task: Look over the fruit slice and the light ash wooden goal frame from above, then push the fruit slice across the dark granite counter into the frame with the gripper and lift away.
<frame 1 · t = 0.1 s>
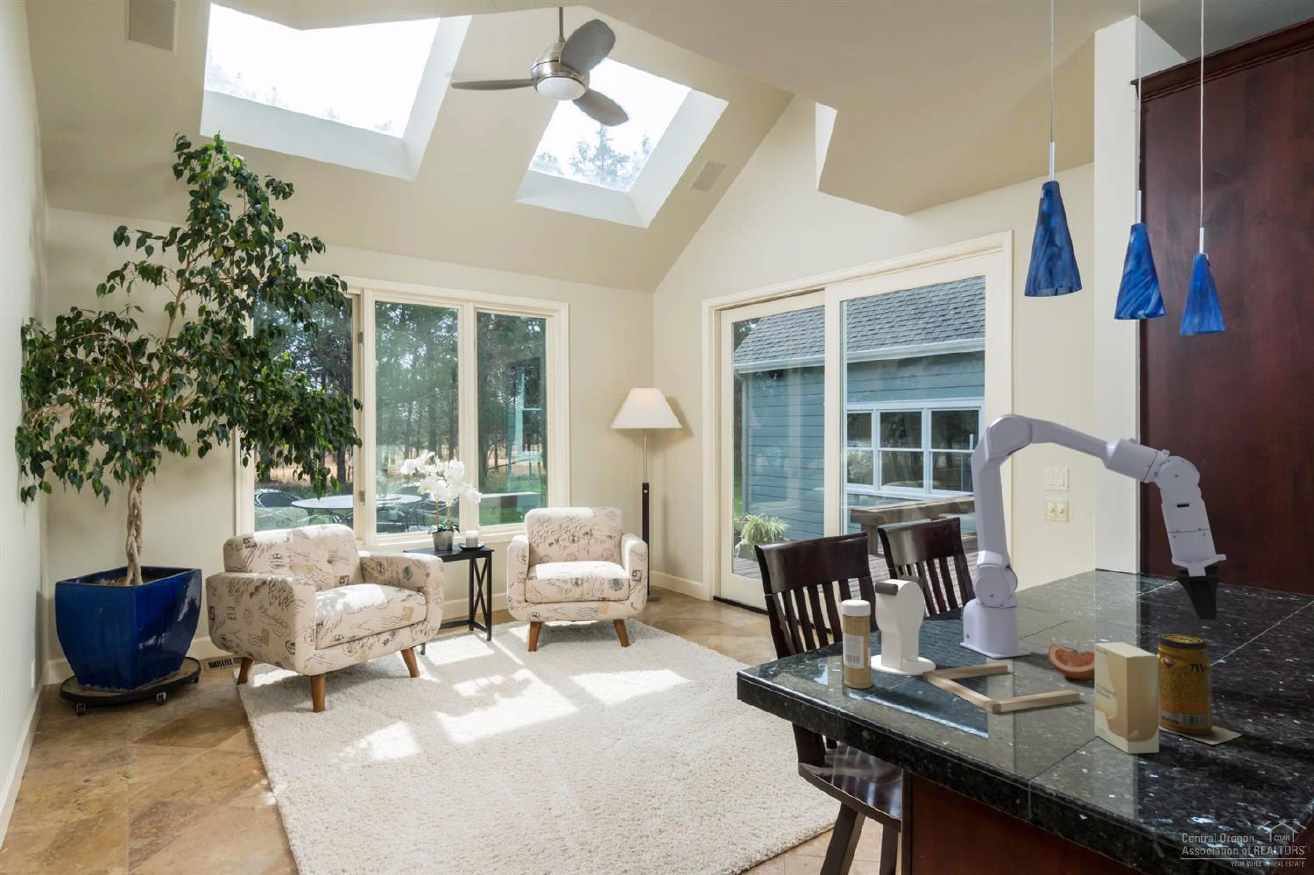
hand: (1207, 614, 115), 10 cm above the counter, tool pointing down, fingers open, 7 cm apart
skincare box: (1126, 745, 91), on the counter
brown spice jar: (857, 686, 116), on the counter
fruit slice: (1078, 680, 117), on the counter
white two-tone upright fixture: (901, 665, 126), on the counter
goal frame: (1001, 689, 113), on the counter
condiment: (1191, 731, 96), on the counter
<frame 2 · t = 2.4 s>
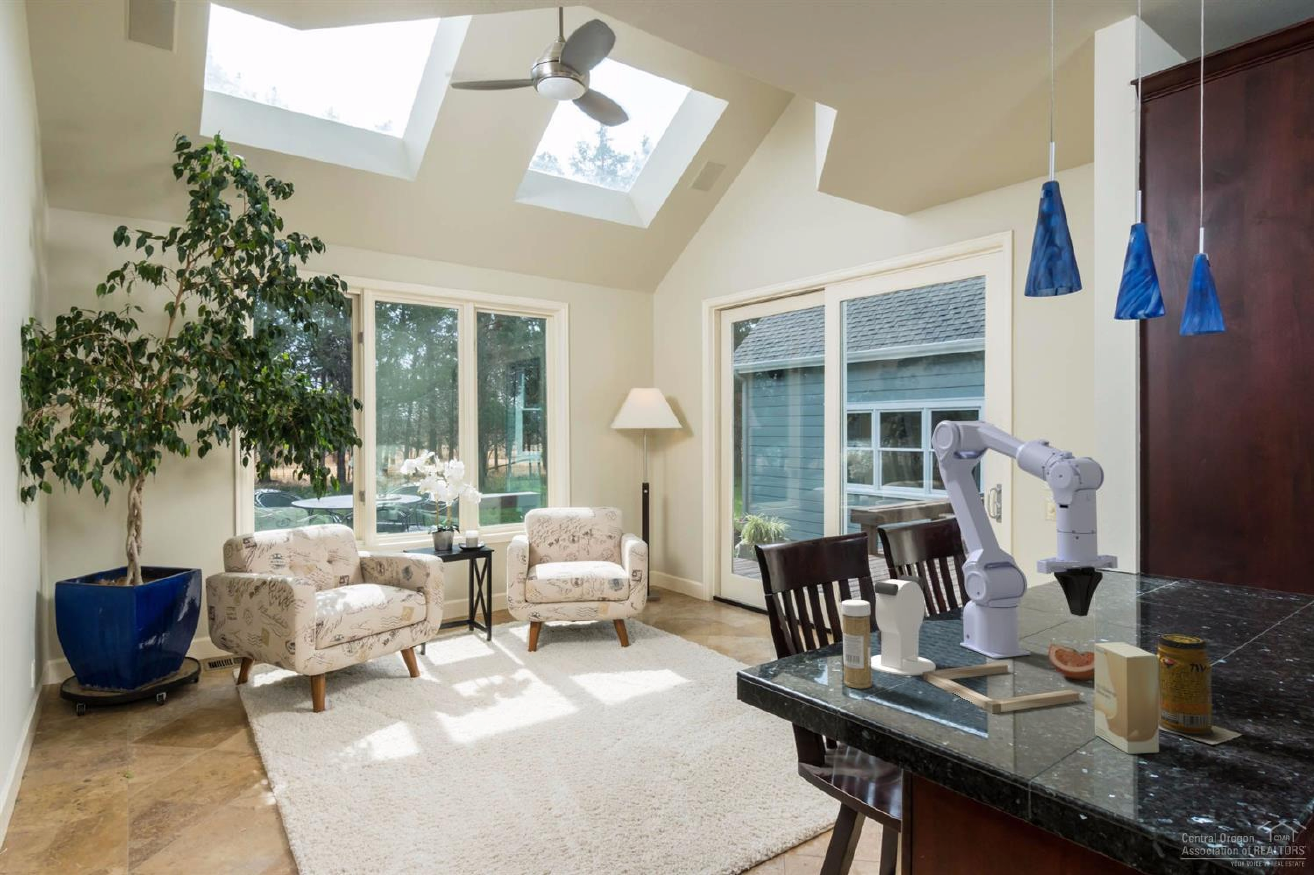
hand: (1078, 614, 117), 10 cm above the counter, tool pointing down, fingers closed
nothing on the counter moved.
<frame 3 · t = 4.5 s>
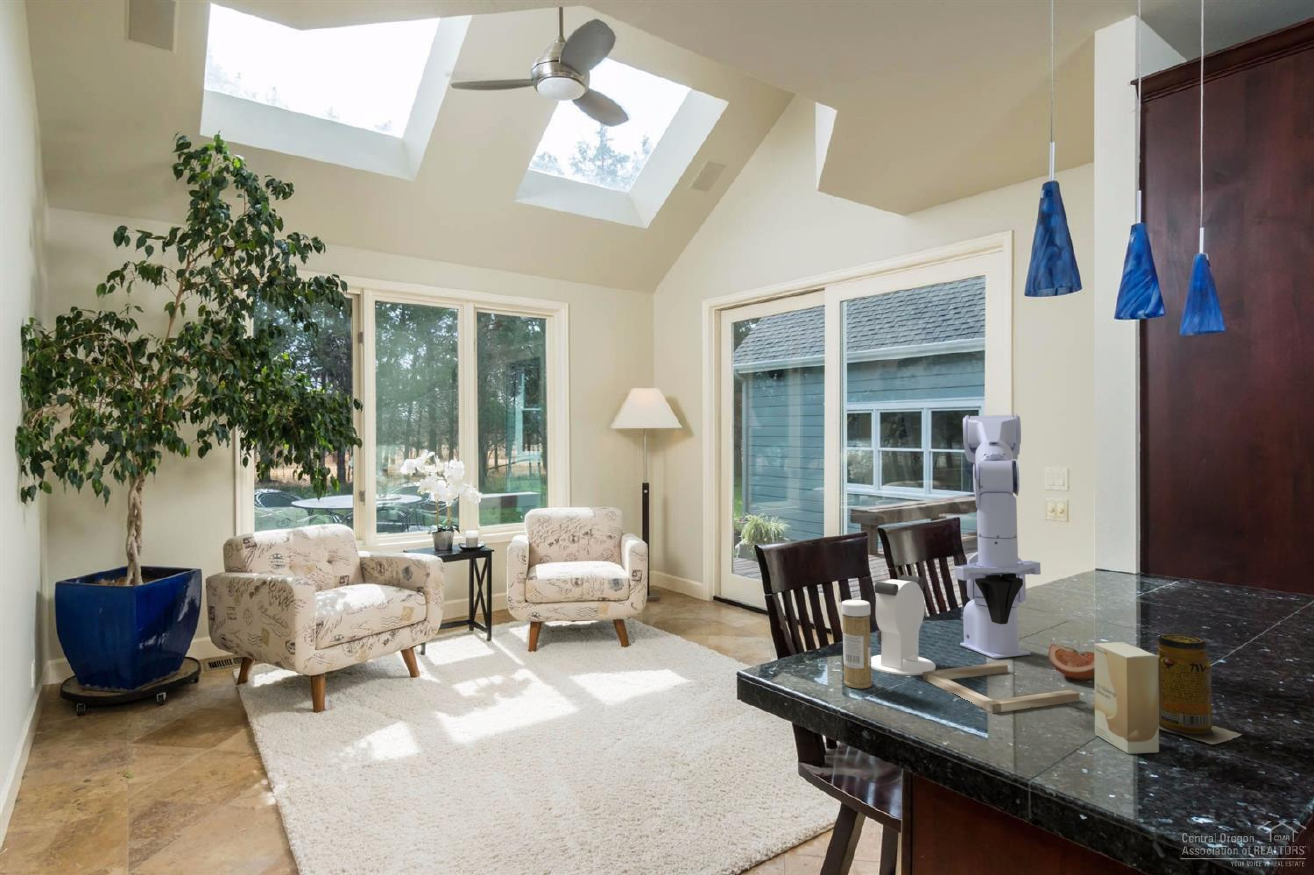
hand: (999, 622, 113), 10 cm above the counter, tool pointing down, fingers closed
nothing on the counter moved.
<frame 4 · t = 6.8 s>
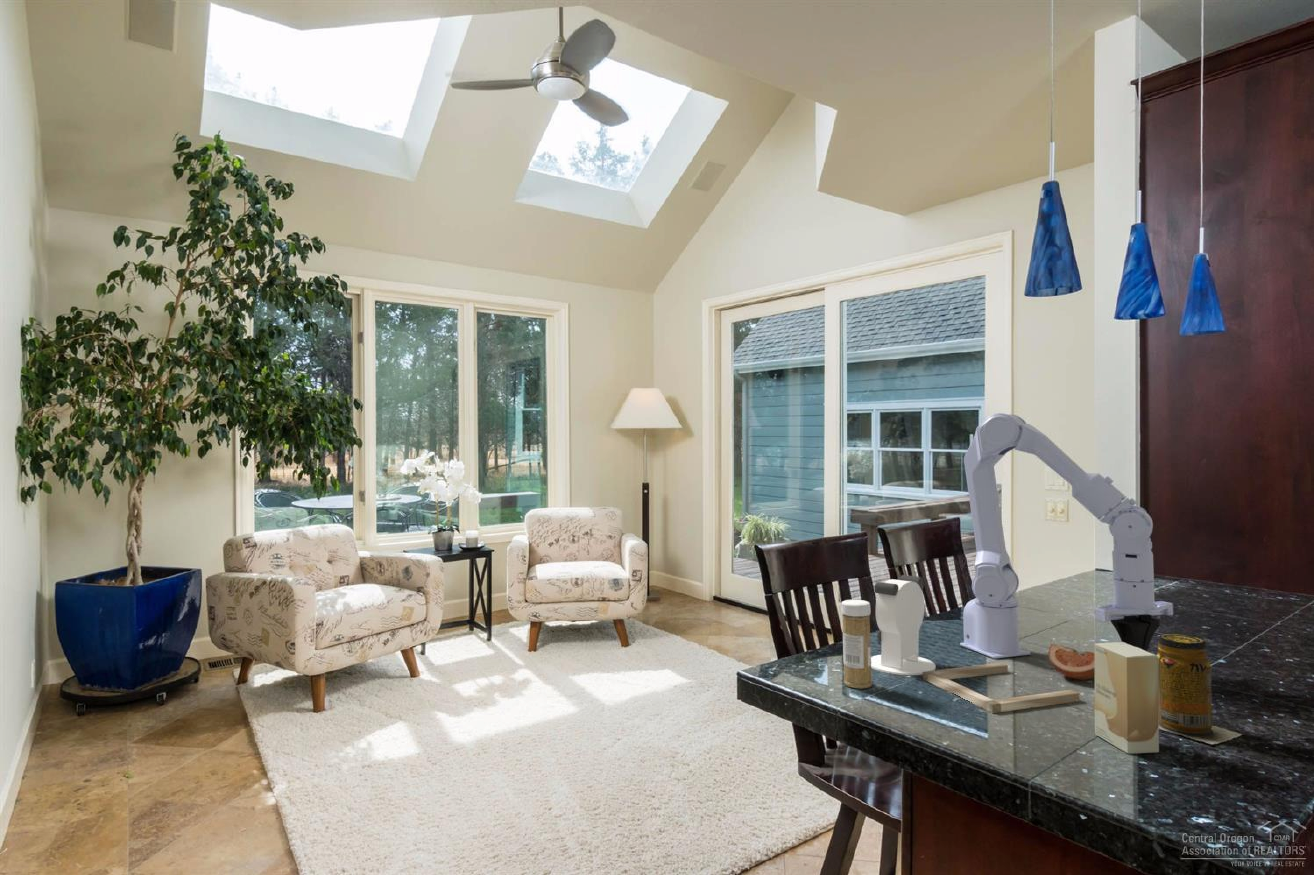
hand: (1135, 660, 120), 2 cm above the counter, tool pointing down, fingers closed
nothing on the counter moved.
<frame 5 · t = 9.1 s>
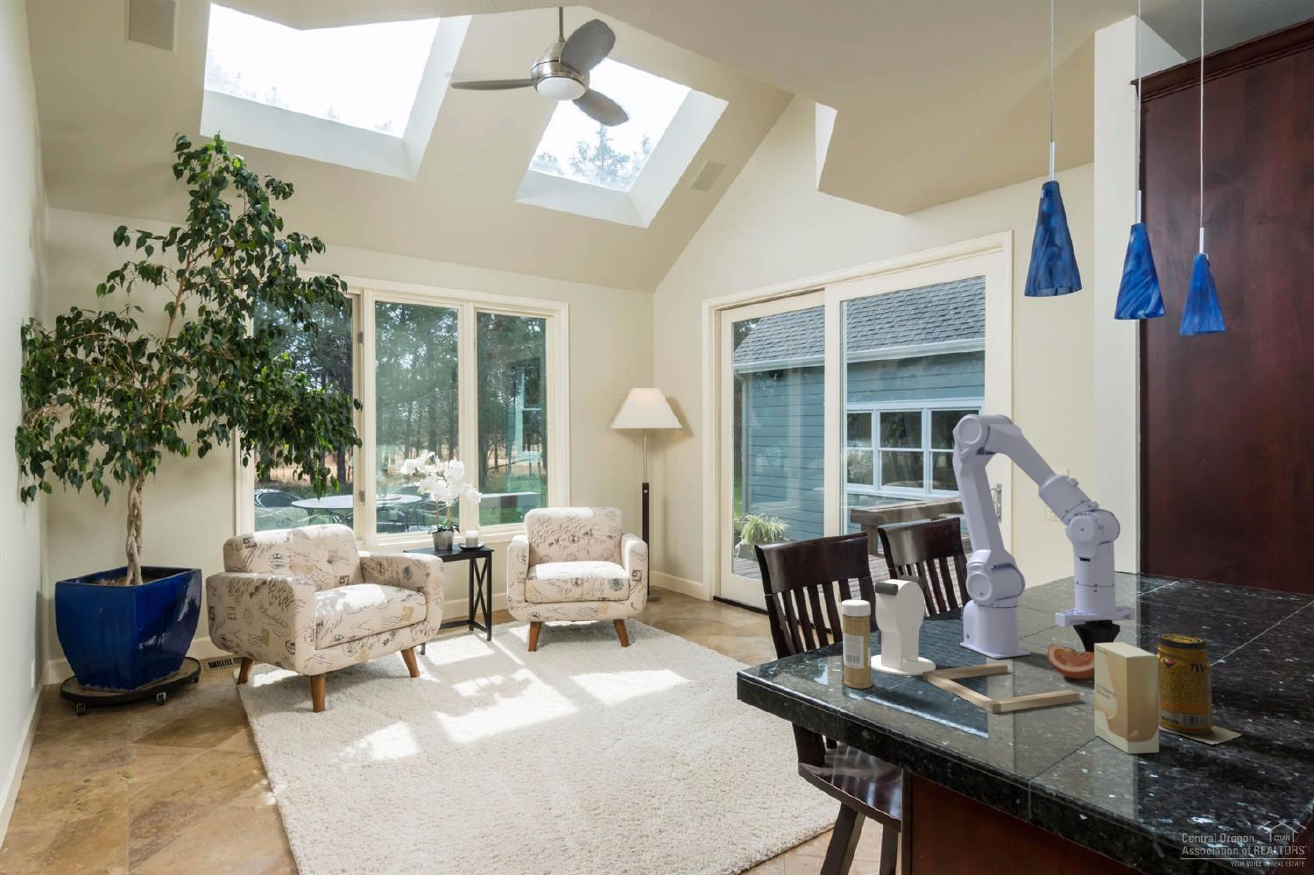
hand: (1097, 666, 118), 2 cm above the counter, tool pointing down, fingers closed
fruit slice: (1077, 680, 116), on the counter, touching gripper
everything else where it was.
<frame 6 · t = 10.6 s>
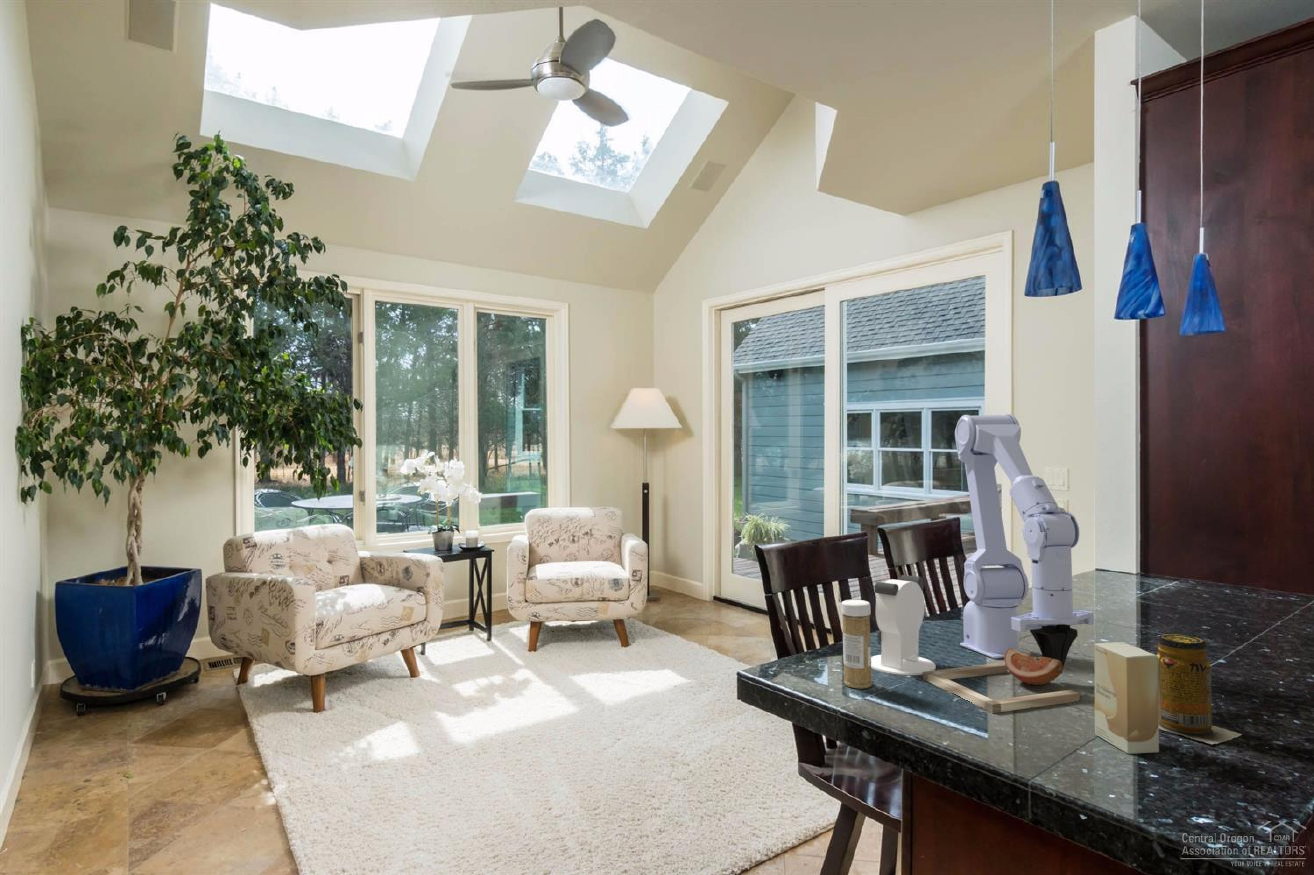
hand: (1054, 672, 115), 2 cm above the counter, tool pointing down, fingers closed
fruit slice: (1033, 686, 114), on the counter, touching gripper
everything else where it was.
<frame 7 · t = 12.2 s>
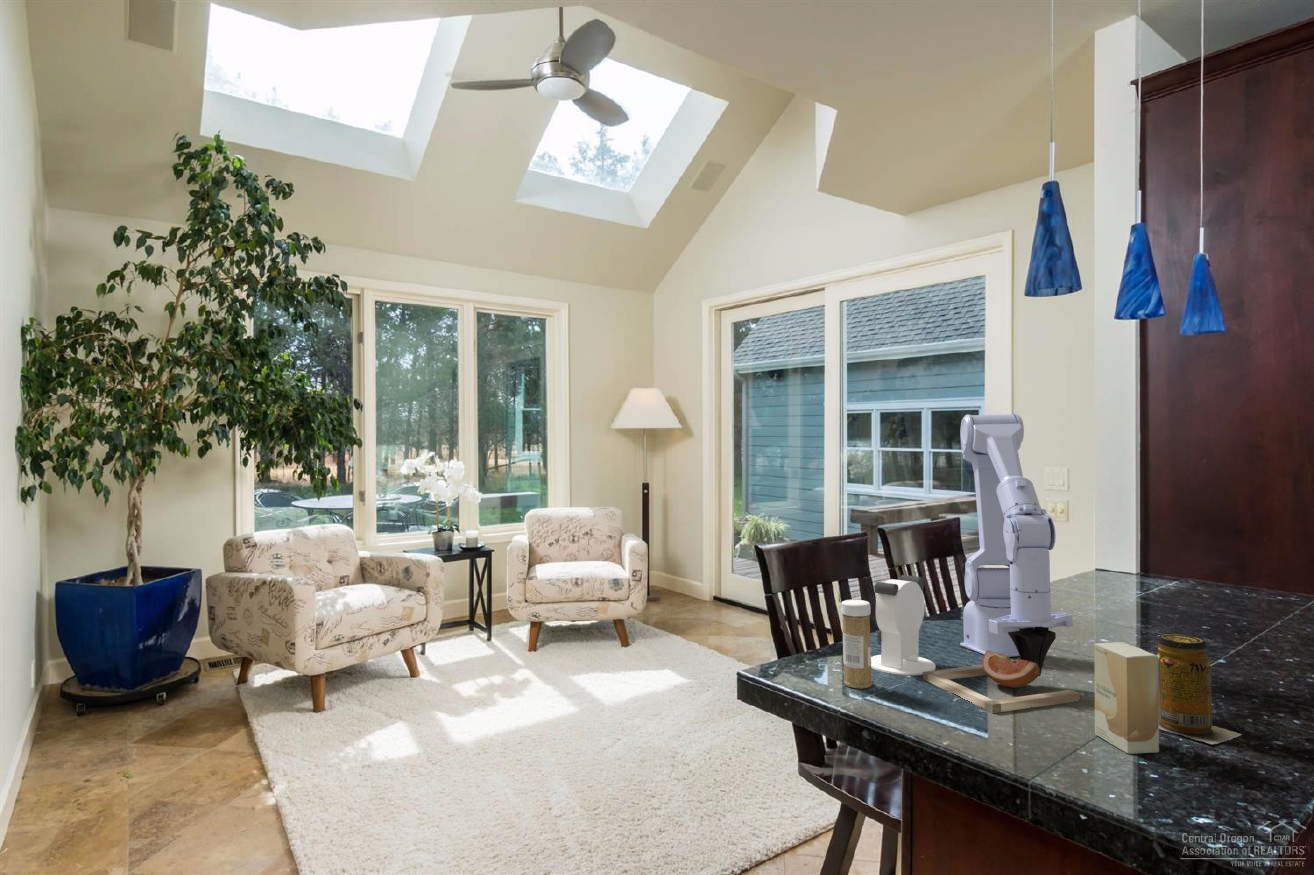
hand: (1032, 674, 114), 2 cm above the counter, tool pointing down, fingers closed
fruit slice: (1010, 688, 113), on the counter, touching gripper
everything else where it was.
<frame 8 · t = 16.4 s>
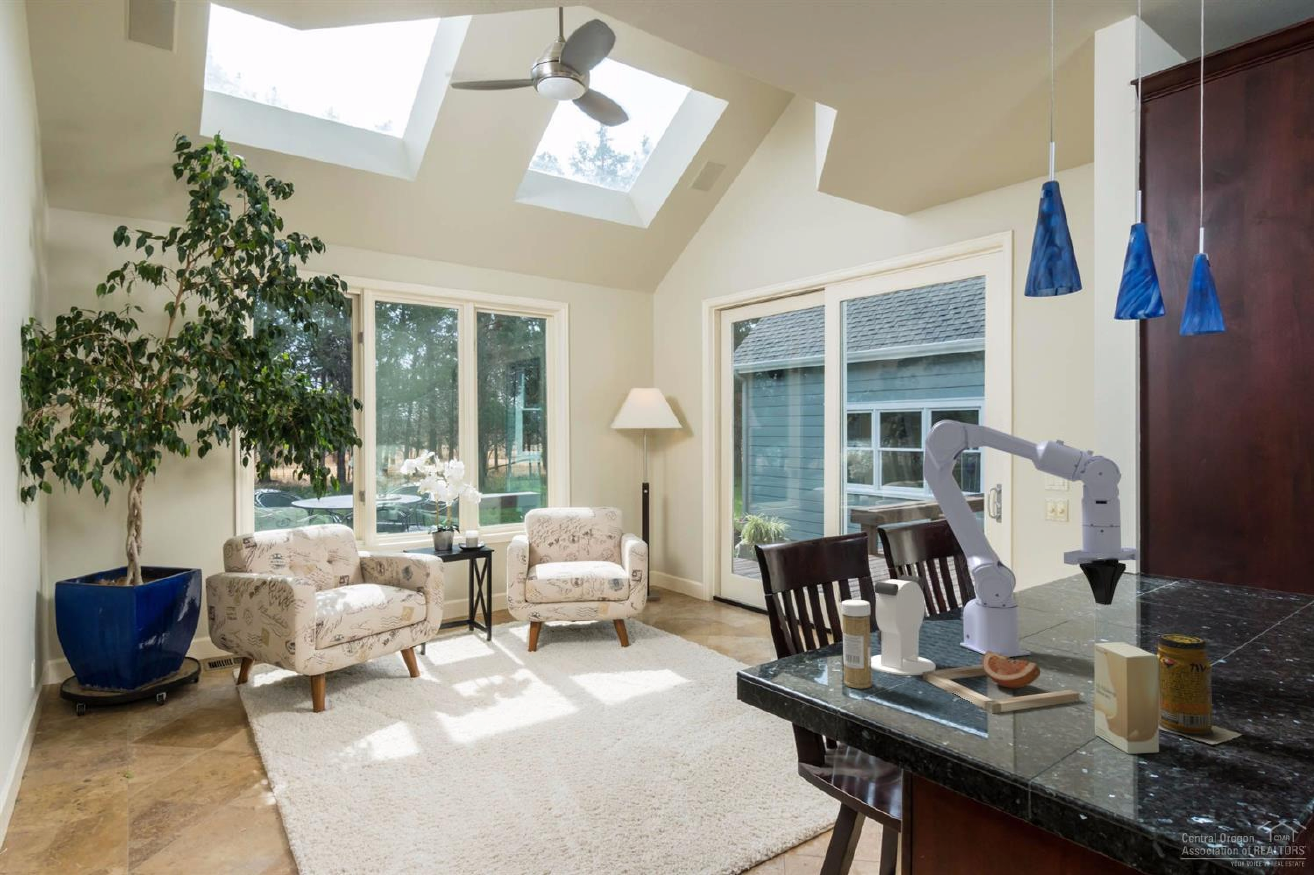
hand: (1103, 603, 125), 10 cm above the counter, tool pointing down, fingers closed
fruit slice: (1010, 689, 113), on the counter
everything else where it was.
at the end: fruit slice inside the target area on the goal frame (2.4 cm from its centre), point 0.0 cm above the goal frame's base; fruit slice moved 13.1 cm from its start; the gripper is holding nothing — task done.
